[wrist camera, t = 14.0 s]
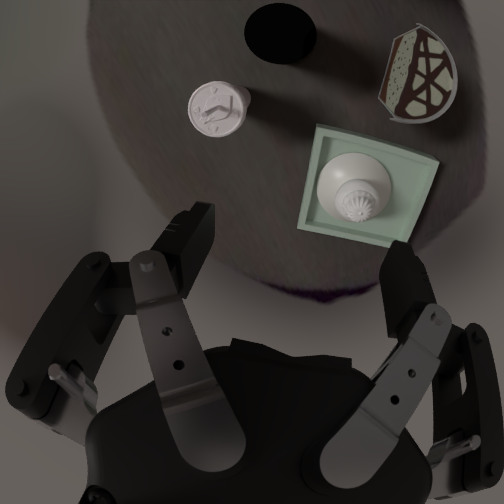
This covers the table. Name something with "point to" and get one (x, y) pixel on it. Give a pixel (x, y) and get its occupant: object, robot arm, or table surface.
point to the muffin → (357, 200)
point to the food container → (418, 77)
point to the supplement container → (280, 34)
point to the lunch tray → (372, 170)
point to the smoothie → (218, 108)
